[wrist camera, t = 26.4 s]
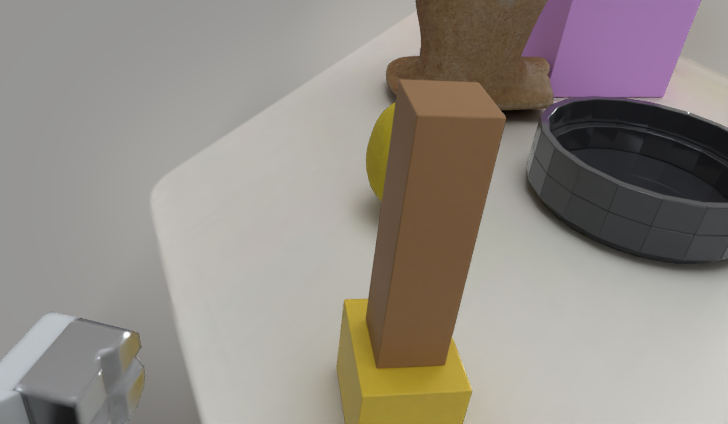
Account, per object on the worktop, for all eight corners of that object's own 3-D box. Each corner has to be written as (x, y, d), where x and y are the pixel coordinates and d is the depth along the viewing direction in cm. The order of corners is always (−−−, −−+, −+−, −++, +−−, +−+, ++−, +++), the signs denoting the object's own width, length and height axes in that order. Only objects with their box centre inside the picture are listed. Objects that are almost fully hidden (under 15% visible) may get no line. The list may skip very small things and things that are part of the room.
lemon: (363, 185, 41) (377, 69, 36) (447, 196, 40) (471, 81, 36) (355, 233, 36) (370, 107, 32) (449, 246, 36) (477, 121, 31)
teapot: (722, 97, 62) (789, -51, 55) (497, 96, 56) (536, -70, 48) (635, 45, 74) (680, -81, 67) (441, 41, 68) (466, -100, 60)
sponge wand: (336, 366, 27) (369, 63, 20) (423, 362, 28) (488, 68, 20) (351, 467, 23) (401, 134, 16) (452, 459, 24) (547, 137, 16)
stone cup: (401, 132, 48) (433, -78, 40) (376, 74, 58) (397, -104, 49) (581, 137, 51) (645, -59, 42) (527, 81, 60) (571, -87, 52)
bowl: (482, 162, 45) (496, 105, 43) (634, 140, 51) (654, 89, 49) (634, 293, 34) (664, 227, 31) (806, 246, 40) (843, 187, 37)
